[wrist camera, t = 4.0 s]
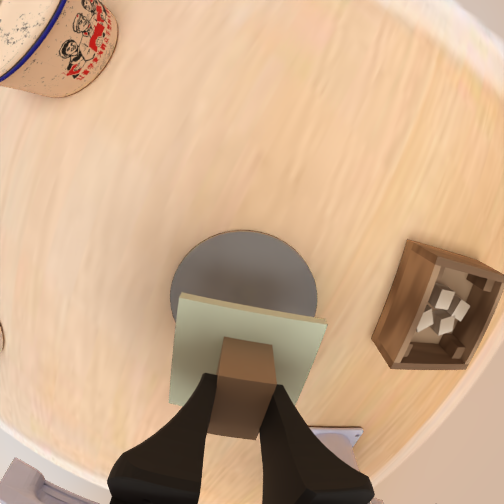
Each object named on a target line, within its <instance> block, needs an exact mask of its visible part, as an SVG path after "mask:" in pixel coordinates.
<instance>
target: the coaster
mask: <svg viewBox="0 0 504 504" xmlns="http://www.w3.org/2000/svg"><path fill="white" fill-rule="evenodd" d="M182 292H183V293H187V294H192V295H197V296H201V297H206V298H211V299H216V300H221V301H226V302H231V303H236V304H241V305H247V306H252V307H258V308H263V309H269V310H274V311H280V312H286V313H292V314H298V315H304V316H310V317H314V316H315V312H316V307H317V290H316V285H315V281H314V278H313V275H312V273H311V271H310V269H309V267H308V266H307V264H306V262H305V261H304V260H303V258H302V257H301V256H300V255H299V254H298V253H297V252H296V250H295V249H293V248H292V247H291V246H289V245H288V244H287V243H285V242H284V241H282V240H280V239H279V238H276V237H274V236H271V235H269V234H265V233H262V232H257V231H250V230H237V231H228V232H224V233H221V234H217V235H215V236H212V237H210V238H208V239H206V240H204V241H203V242H201V243H200V244H198V245H197V246H196V247H194V248H193V249H192V250H191V251H190V252H189V253H188V254H187V255H186V257H185V258H184V259H183V261H182V262H181V264H180V265H179V267H178V269H177V271H176V273H175V275H174V278H173V281H172V285H171V291H170V302H171V310H172V314H173V317H174V319H175V322H176V319H177V310H178V302H179V297H180V295H181V293H182Z"/></svg>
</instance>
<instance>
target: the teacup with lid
mask: <svg viewBox="0 0 504 504" xmlns="http://www.w3.org/2000/svg"><path fill="white" fill-rule="evenodd" d="M116 40H117V23H116V20H115V18H114V16H113V14H112V13H111V12H110V11H109V10H108V9H107V8H106V7H105V6H104V5H103V4H102V3H101V2H100V1H99V0H0V86H4V87H9V88H13V89H18V90H23V91H27V92H31V93H36V94H40V95H44V96H48V97H54V98H58V97H65V96H68V95H71V94H73V93H75V92H77V91H79V90H81V89H82V88H84V87H85V86H87V85H88V84H89V83H90V82H91V81H92V80H93V79H95V78H96V76H97V75H98V74H99V73H100V72H101V71H102V69H103V68H104V67H105V65H106V64H107V62H108V61H109V59H110V57H111V55H112V53H113V50H114V48H115V44H116Z"/></svg>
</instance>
